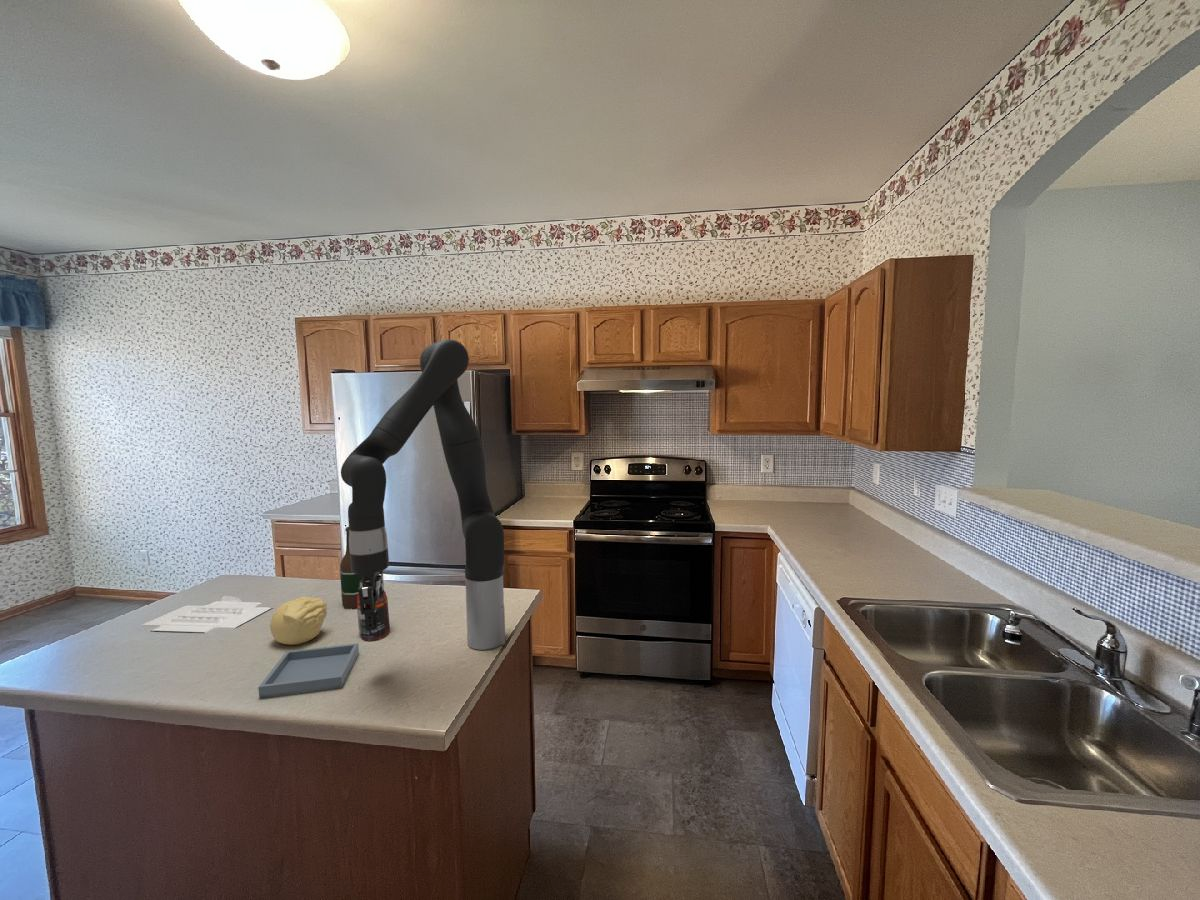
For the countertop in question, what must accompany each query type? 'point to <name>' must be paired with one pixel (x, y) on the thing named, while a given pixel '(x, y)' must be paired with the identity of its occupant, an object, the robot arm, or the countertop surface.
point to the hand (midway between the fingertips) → (374, 622)
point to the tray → (310, 671)
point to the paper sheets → (208, 616)
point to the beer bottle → (349, 579)
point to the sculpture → (298, 620)
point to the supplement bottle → (382, 620)
